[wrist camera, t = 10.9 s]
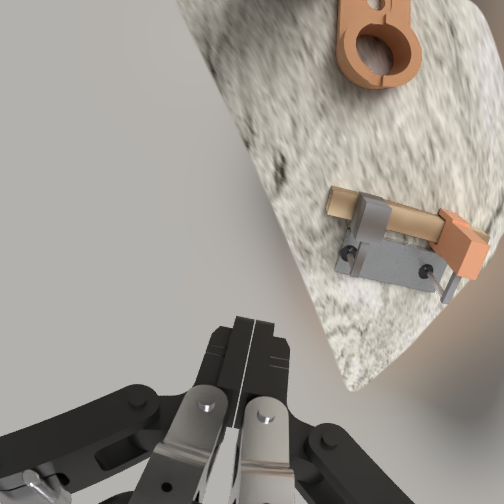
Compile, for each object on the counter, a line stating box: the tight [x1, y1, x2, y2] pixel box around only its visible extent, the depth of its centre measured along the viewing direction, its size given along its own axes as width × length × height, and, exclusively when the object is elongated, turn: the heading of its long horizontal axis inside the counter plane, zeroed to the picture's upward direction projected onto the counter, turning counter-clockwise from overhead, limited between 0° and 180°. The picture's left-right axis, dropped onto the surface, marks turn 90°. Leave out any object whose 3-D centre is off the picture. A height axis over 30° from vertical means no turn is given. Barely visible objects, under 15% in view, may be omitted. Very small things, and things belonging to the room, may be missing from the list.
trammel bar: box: [326, 186, 490, 278], centre depth 37 cm, size 9×24×7 cm, turn 80°
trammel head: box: [427, 208, 490, 304], centre depth 35 cm, size 10×3×10 cm, turn 170°
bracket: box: [336, 0, 422, 89], centre depth 26 cm, size 18×8×7 cm, turn 177°
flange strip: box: [335, 229, 448, 293], centre depth 42 cm, size 6×16×1 cm, turn 80°
